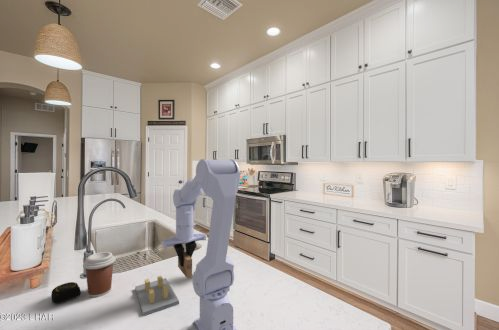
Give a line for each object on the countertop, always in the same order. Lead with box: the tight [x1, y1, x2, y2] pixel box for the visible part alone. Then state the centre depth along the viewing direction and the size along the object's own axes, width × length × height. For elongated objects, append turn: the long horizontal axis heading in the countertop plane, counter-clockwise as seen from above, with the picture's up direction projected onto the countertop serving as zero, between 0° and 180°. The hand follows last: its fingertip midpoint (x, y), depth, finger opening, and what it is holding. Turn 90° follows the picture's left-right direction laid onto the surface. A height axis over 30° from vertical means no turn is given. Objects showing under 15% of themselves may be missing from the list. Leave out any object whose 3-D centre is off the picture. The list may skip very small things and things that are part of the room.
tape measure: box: [50, 281, 82, 305], centre depth 73 cm, size 7×7×4 cm
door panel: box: [177, 250, 193, 280], centre depth 78 cm, size 10×2×6 cm, turn 34°
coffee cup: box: [82, 251, 117, 298], centre depth 76 cm, size 9×9×12 cm
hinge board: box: [135, 275, 180, 317], centre depth 74 cm, size 16×10×4 cm, turn 34°
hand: (184, 264), depth 78 cm, fingers closed on door panel, 2 cm apart
